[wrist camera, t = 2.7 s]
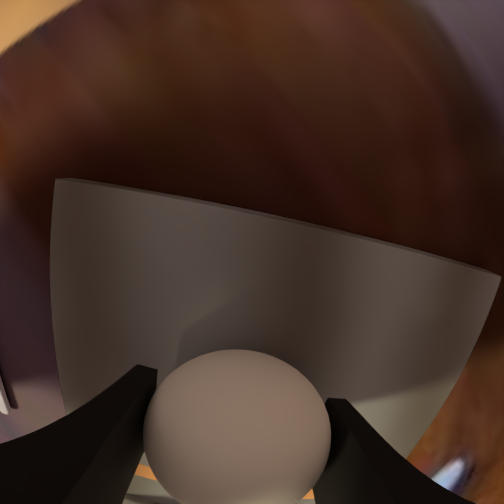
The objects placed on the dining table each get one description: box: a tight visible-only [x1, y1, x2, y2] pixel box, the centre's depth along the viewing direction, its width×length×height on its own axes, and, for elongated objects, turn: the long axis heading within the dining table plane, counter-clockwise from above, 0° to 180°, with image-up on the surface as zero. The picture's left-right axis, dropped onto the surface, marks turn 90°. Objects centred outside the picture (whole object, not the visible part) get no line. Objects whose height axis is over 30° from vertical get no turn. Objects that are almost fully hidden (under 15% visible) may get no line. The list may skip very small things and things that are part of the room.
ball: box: [143, 349, 331, 504], centre depth 7 cm, size 5×5×5 cm
